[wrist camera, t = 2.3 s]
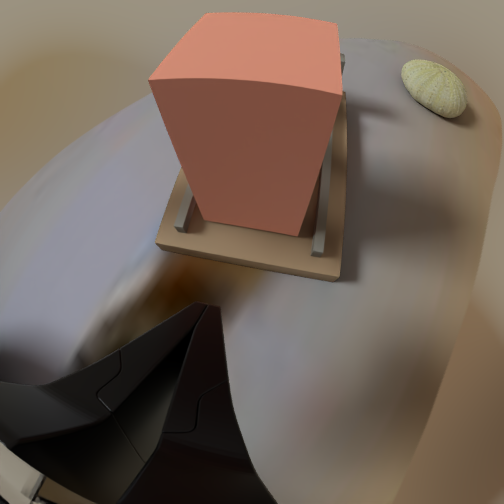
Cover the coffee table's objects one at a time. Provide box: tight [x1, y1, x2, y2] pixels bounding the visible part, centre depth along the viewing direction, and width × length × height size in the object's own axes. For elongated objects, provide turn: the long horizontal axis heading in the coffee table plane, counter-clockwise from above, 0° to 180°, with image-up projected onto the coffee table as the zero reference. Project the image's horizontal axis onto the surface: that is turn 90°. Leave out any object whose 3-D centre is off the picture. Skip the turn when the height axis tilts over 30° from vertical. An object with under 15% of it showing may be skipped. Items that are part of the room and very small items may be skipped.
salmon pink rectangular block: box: [148, 13, 342, 236], centre depth 13 cm, size 6×6×11 cm
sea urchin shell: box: [401, 60, 467, 118], centre depth 23 cm, size 9×8×8 cm
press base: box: [155, 54, 347, 282], centre depth 18 cm, size 18×12×6 cm, turn 169°
